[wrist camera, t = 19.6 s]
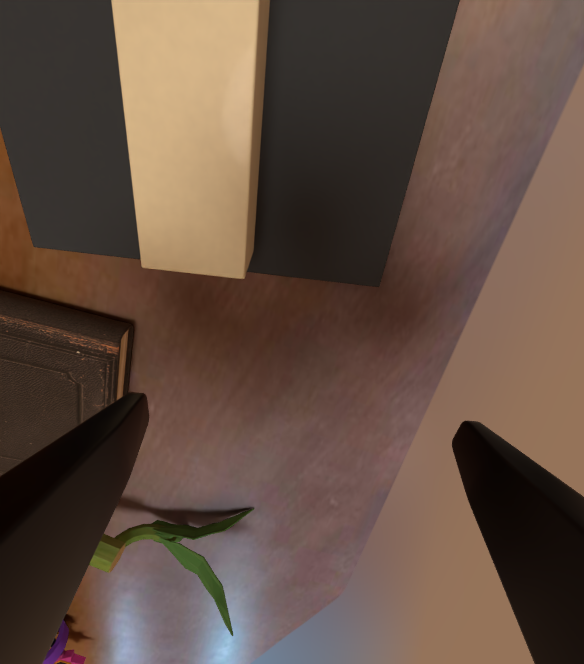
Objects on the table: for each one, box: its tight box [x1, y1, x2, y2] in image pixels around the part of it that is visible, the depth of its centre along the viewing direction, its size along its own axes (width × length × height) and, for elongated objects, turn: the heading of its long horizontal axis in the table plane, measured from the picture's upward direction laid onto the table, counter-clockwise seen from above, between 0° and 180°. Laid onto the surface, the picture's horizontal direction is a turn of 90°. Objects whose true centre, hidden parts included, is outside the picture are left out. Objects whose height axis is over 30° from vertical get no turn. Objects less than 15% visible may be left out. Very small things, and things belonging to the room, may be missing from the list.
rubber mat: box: [0, 0, 460, 287], centre depth 15 cm, size 20×14×1 cm
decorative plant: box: [89, 508, 254, 636], centre depth 28 cm, size 6×8×30 cm
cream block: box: [111, 0, 270, 279], centre depth 13 cm, size 4×4×12 cm
